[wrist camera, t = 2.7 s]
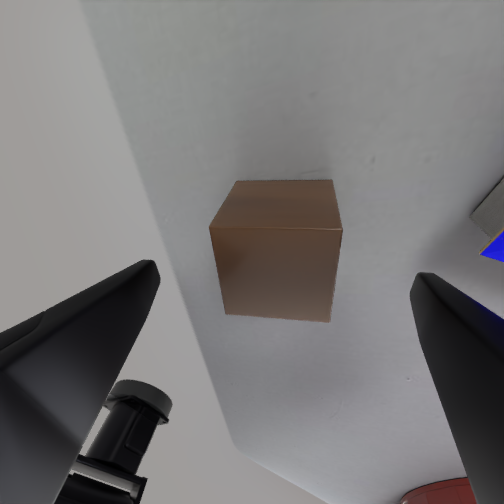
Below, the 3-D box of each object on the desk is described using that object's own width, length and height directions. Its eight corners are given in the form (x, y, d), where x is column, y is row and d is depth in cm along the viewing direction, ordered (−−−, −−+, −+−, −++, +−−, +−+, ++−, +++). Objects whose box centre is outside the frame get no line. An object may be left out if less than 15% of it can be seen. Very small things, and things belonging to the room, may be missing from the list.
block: (324, 258, 13) (330, 323, 10) (244, 255, 14) (224, 314, 10) (332, 179, 11) (343, 229, 7) (236, 180, 11) (207, 226, 8)
